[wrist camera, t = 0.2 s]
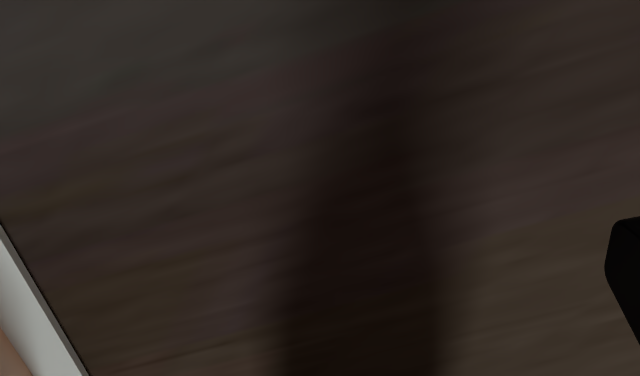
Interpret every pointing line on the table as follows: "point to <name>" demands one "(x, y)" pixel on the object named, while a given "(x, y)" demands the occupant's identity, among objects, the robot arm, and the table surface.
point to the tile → (11, 359)
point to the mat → (32, 320)
